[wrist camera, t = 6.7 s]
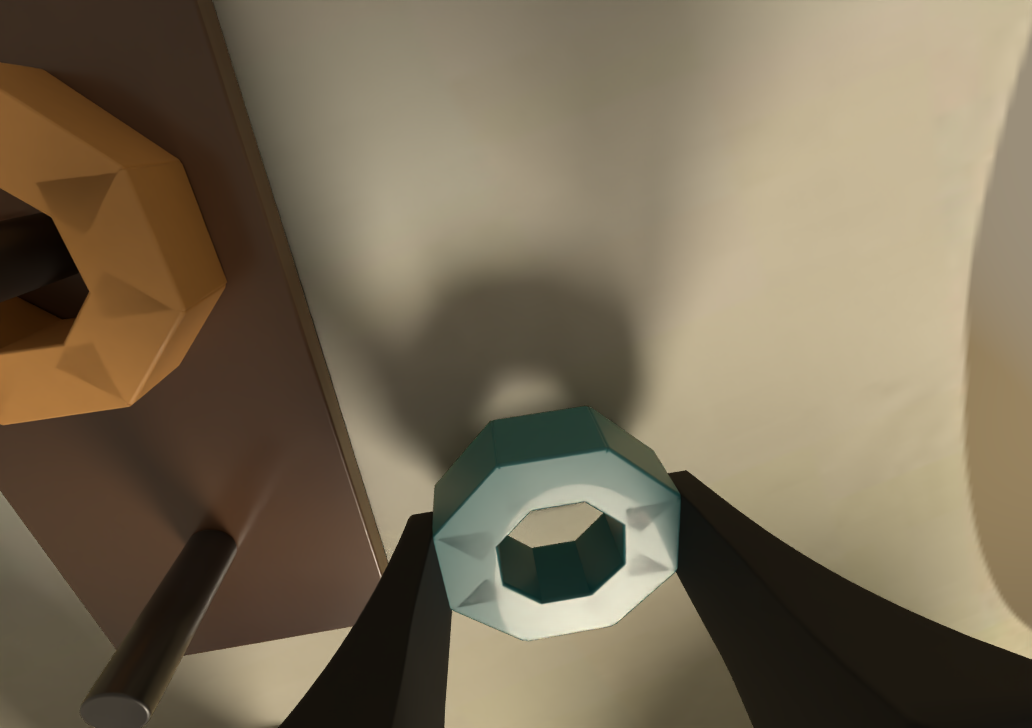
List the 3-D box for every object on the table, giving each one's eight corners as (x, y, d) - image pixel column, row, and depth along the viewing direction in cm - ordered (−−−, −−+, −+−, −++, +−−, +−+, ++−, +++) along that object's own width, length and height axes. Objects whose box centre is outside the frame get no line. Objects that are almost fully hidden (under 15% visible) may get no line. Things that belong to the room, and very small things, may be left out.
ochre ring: (256, 355, 11) (221, 394, 9) (-12, 394, 11) (-95, 440, 9) (143, 56, 8) (69, 38, 7) (-211, 95, 8) (-377, 86, 6)
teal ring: (652, 561, 14) (677, 616, 13) (459, 595, 14) (459, 655, 12) (655, 393, 12) (686, 434, 10) (421, 429, 12) (415, 478, 10)
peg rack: (399, 597, 16) (376, 784, 11) (142, 641, 15) (11, 854, 11) (206, -21, 9) (-60, -184, 4) (-277, 29, 8) (-1149, -94, 4)
